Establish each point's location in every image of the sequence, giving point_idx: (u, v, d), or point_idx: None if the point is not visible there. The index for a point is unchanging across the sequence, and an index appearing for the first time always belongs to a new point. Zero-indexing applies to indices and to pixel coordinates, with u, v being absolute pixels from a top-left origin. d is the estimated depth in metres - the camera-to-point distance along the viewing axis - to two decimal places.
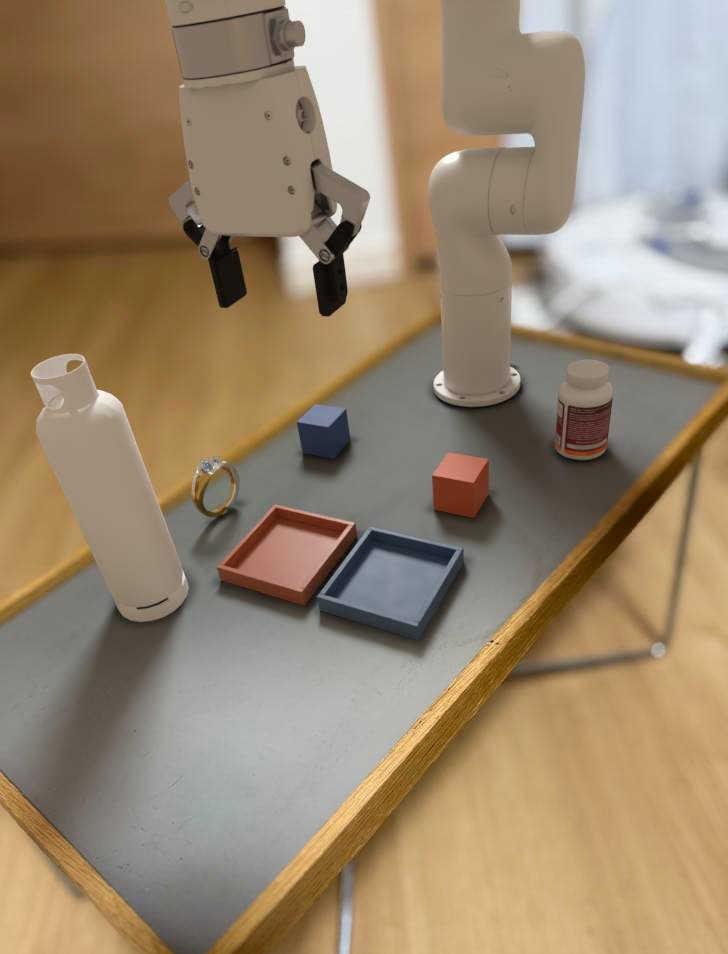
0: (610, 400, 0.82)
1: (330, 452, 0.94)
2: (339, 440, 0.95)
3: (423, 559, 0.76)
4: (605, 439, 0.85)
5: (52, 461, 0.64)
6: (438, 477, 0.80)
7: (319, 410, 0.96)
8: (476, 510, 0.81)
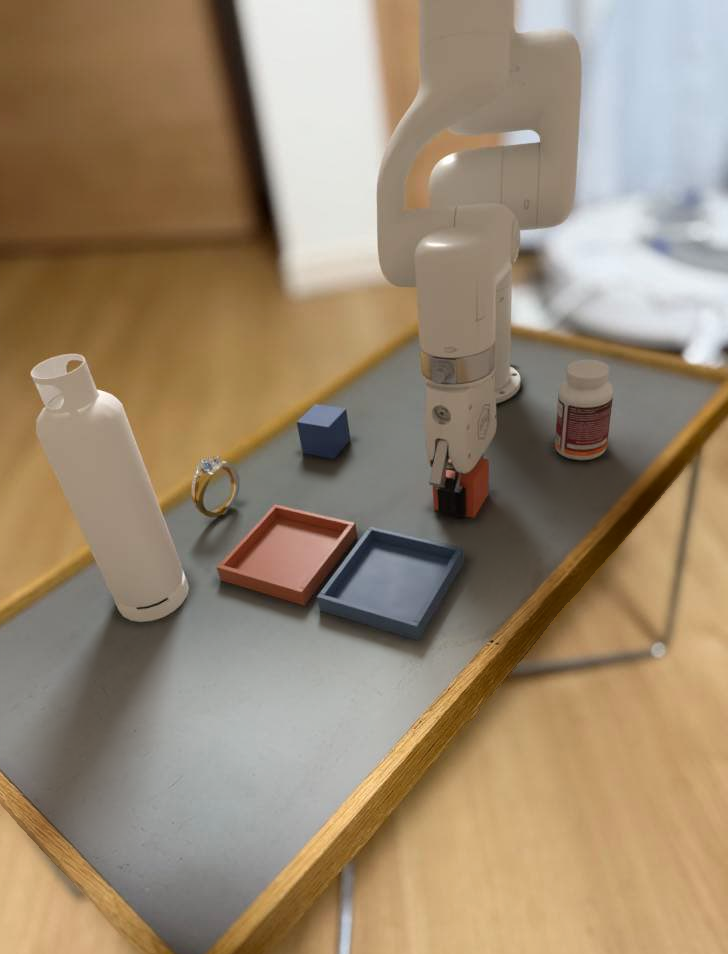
0: (610, 400, 0.82)
1: (330, 452, 0.94)
2: (339, 440, 0.95)
3: (423, 559, 0.76)
4: (605, 439, 0.85)
5: (52, 461, 0.64)
6: None
7: (319, 410, 0.96)
8: (476, 510, 0.81)
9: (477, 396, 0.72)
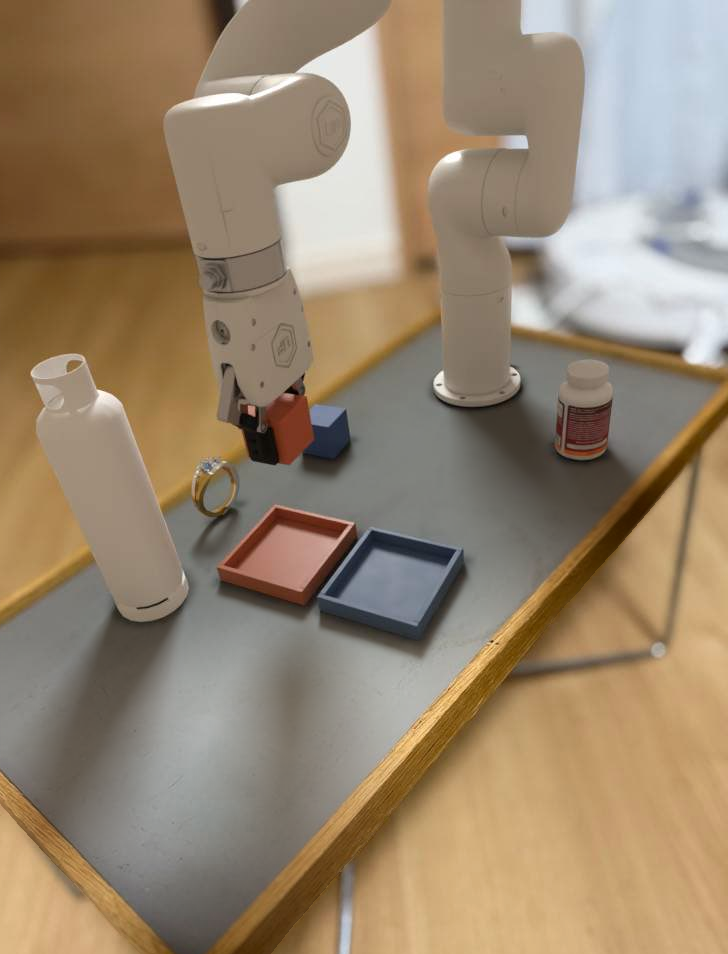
0: (610, 400, 0.82)
1: (330, 452, 0.94)
2: (339, 440, 0.95)
3: (423, 559, 0.76)
4: (605, 439, 0.85)
5: (52, 461, 0.64)
6: None
7: (319, 410, 0.96)
8: (292, 456, 0.69)
9: (264, 310, 0.60)
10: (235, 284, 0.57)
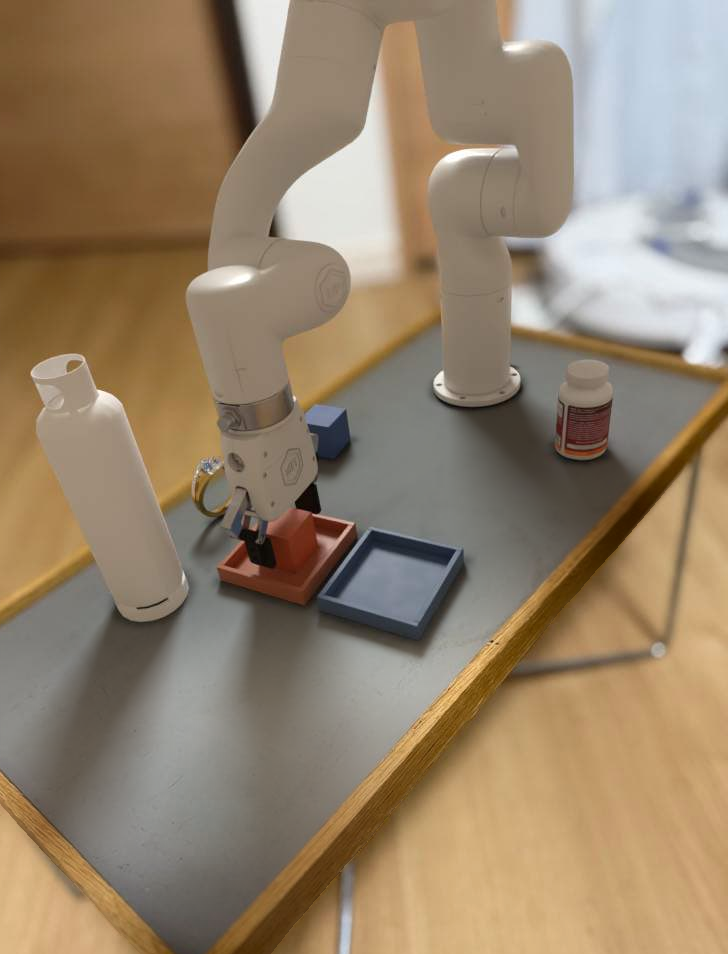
0: (610, 400, 0.82)
1: (330, 452, 0.94)
2: (339, 440, 0.95)
3: (423, 559, 0.76)
4: (605, 439, 0.85)
5: (52, 461, 0.64)
6: None
7: (319, 410, 0.96)
8: (299, 565, 0.77)
9: (274, 442, 0.67)
10: (248, 424, 0.65)
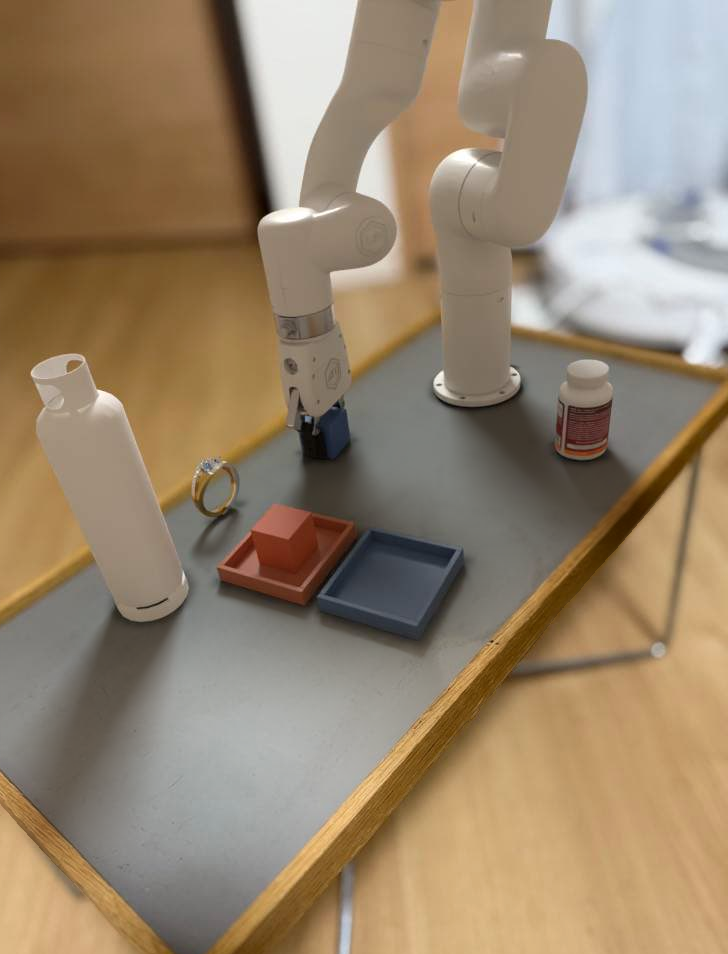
0: (610, 400, 0.82)
1: (330, 452, 0.94)
2: (339, 440, 0.95)
3: (423, 559, 0.76)
4: (605, 439, 0.85)
5: (52, 461, 0.64)
6: (256, 532, 0.76)
7: None
8: (299, 565, 0.77)
9: (320, 351, 0.86)
10: (302, 334, 0.83)
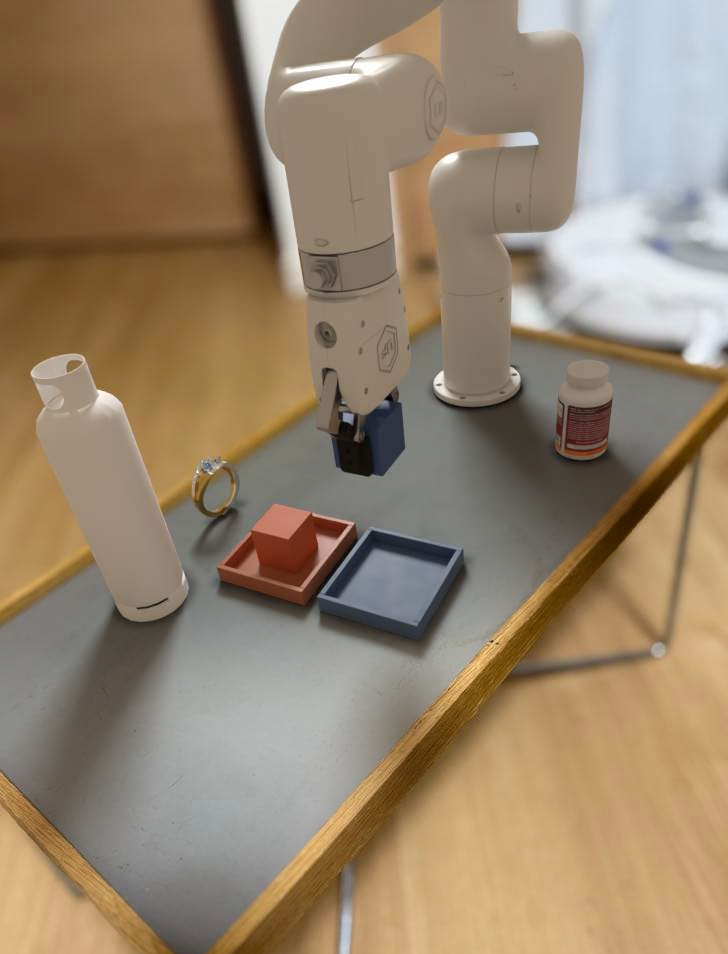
0: (610, 400, 0.82)
1: (378, 467, 0.64)
2: (391, 448, 0.65)
3: (423, 559, 0.76)
4: (605, 439, 0.85)
5: (52, 461, 0.64)
6: (256, 532, 0.76)
7: None
8: (299, 565, 0.77)
9: (372, 311, 0.55)
10: (345, 282, 0.53)
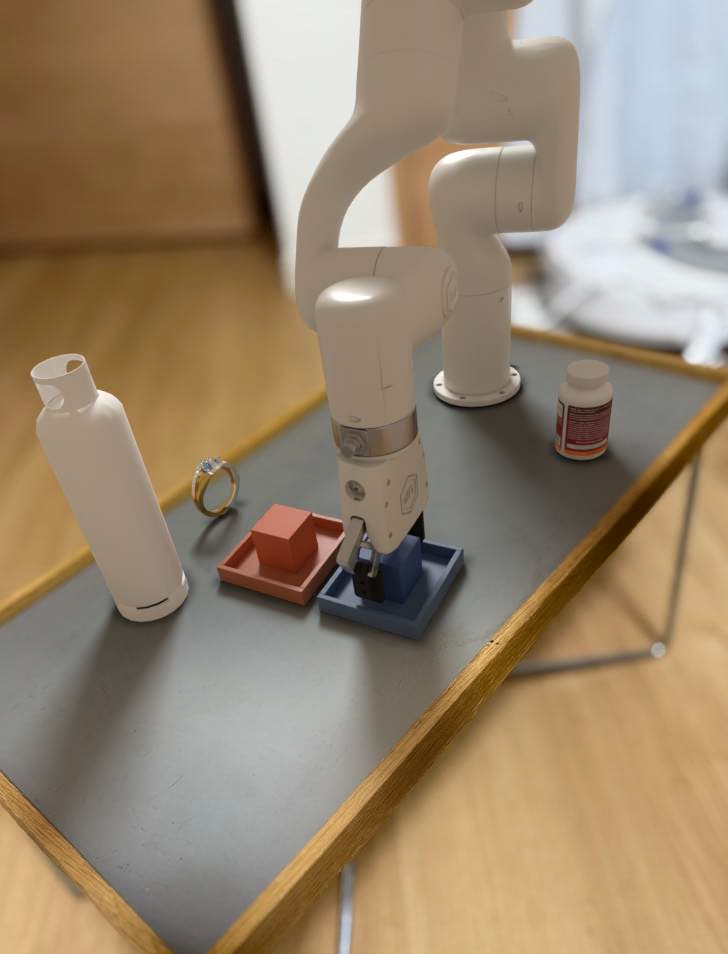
0: (610, 400, 0.82)
1: (399, 596, 0.71)
2: (411, 578, 0.72)
3: (423, 559, 0.76)
4: (605, 439, 0.85)
5: (52, 461, 0.64)
6: (256, 532, 0.76)
7: None
8: (299, 565, 0.77)
9: (397, 469, 0.62)
10: (374, 450, 0.59)
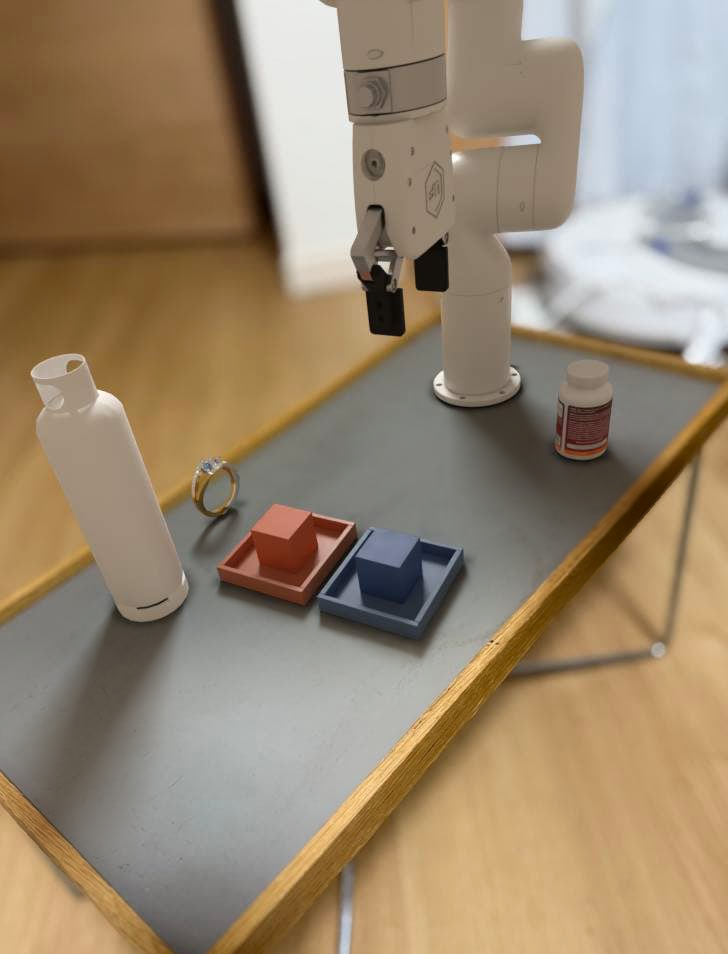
0: (610, 400, 0.82)
1: (399, 596, 0.71)
2: (411, 578, 0.72)
3: (423, 559, 0.76)
4: (605, 439, 0.85)
5: (52, 461, 0.64)
6: (256, 532, 0.76)
7: (384, 537, 0.72)
8: (299, 565, 0.77)
9: (422, 140, 0.52)
10: (396, 102, 0.50)
